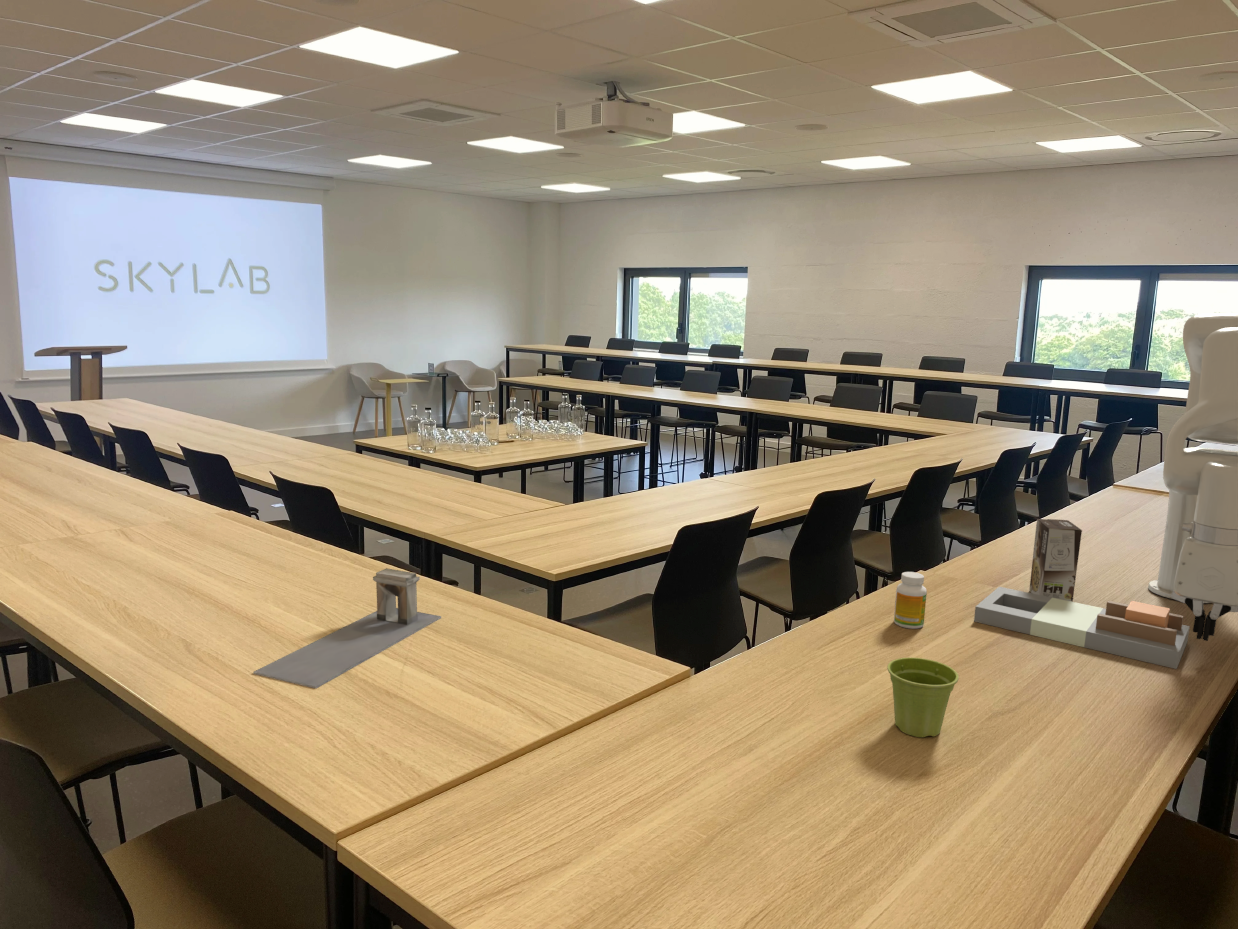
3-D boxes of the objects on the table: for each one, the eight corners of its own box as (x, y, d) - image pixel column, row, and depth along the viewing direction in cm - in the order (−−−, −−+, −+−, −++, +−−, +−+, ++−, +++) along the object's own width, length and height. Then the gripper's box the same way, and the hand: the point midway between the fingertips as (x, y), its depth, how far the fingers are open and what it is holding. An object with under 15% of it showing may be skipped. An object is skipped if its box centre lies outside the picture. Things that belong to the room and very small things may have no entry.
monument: (441, 619, 160) (440, 570, 158) (316, 691, 130) (313, 630, 128) (386, 609, 164) (384, 561, 163) (253, 676, 134) (249, 617, 132)
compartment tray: (997, 600, 177) (1000, 574, 176) (1187, 641, 157) (1191, 613, 156) (973, 621, 165) (976, 594, 164) (1176, 669, 144) (1181, 638, 143)
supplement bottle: (925, 630, 159) (930, 580, 157) (895, 627, 160) (899, 577, 159) (921, 620, 164) (926, 571, 163) (892, 617, 165) (896, 569, 164)
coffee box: (1073, 607, 174) (1083, 530, 171) (1039, 604, 175) (1048, 527, 172) (1060, 593, 183) (1069, 519, 180) (1027, 590, 184) (1036, 517, 181)
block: (1128, 621, 158) (1131, 600, 157) (1166, 629, 154) (1170, 608, 153) (1123, 630, 153) (1126, 609, 153) (1162, 639, 150) (1165, 617, 149)
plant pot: (944, 751, 115) (951, 691, 114) (874, 732, 120) (879, 674, 119) (958, 724, 123) (964, 667, 122) (892, 707, 128) (897, 652, 127)
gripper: (1163, 531, 147) (1149, 633, 150) (1272, 547, 138) (1254, 655, 141) (1169, 523, 153) (1155, 621, 156) (1274, 538, 143) (1257, 642, 147)
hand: (1202, 637), depth 148 cm, fingers closed
